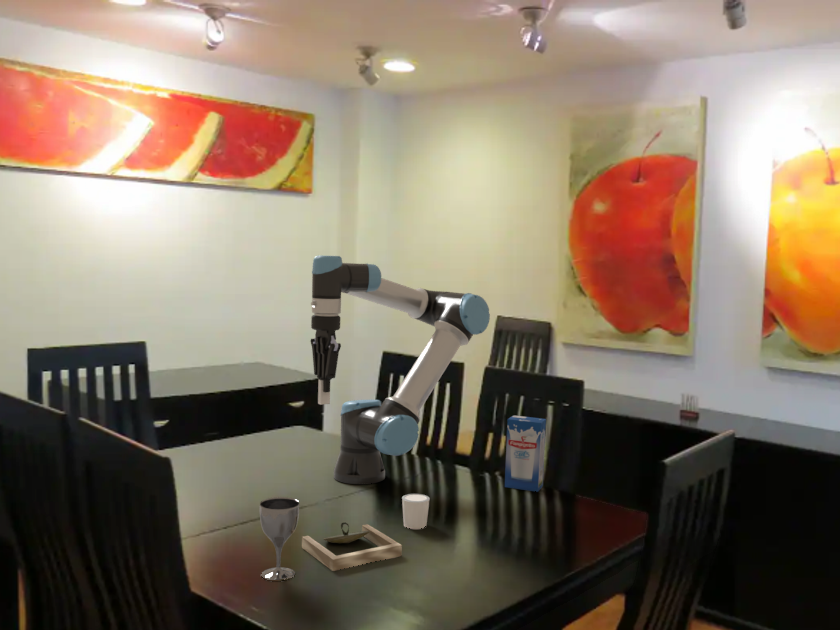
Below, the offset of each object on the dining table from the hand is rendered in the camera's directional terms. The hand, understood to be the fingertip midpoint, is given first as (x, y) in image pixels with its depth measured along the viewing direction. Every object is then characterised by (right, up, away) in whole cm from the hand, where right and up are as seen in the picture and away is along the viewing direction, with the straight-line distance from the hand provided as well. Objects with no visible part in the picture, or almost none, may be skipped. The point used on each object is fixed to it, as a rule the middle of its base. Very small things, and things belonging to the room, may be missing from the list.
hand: (323, 403), depth 207 cm
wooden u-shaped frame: (+10, -29, -32) cm, 44 cm away
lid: (+8, -29, -28) cm, 41 cm away
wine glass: (-4, -30, -45) cm, 55 cm away
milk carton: (+56, -27, +22) cm, 66 cm away
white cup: (+24, -29, -14) cm, 40 cm away
